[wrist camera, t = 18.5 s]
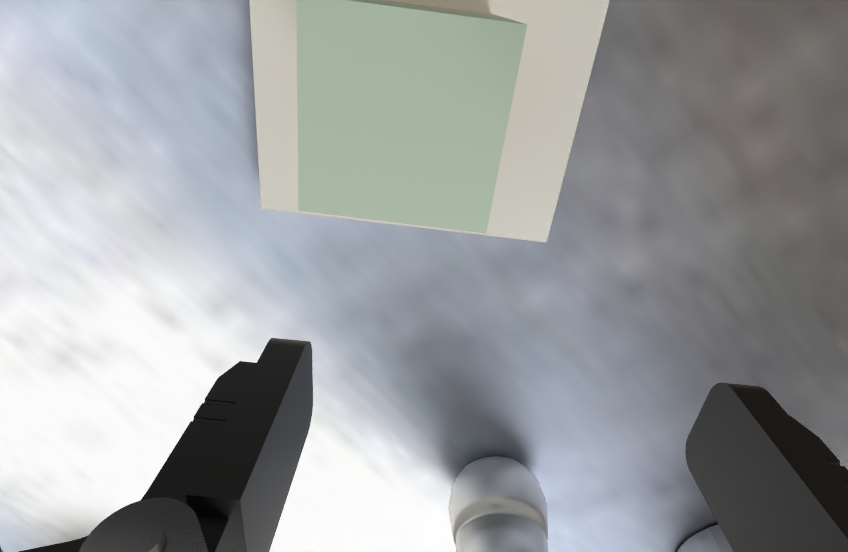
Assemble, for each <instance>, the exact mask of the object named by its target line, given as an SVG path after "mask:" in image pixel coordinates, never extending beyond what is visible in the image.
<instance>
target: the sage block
mask: <svg viewBox="0 0 848 552" xmlns="http://www.w3.org/2000/svg"><path fill="white" fill-rule="evenodd" d="M296 1H297V105H298V209H299V211H306V212H314V213H322V214H330V215H339V216H347V217H355V218H363V219H371V220H379V221H387V222H395V223H404V224H412V225H420V226H428V227H436V228H444V229H452V230H461V231H469V232H477V233H485V234H486V231H487V226H488V221H489V216H490V211H491V206H492V201H493V196H494V191H495V186H496V180H497V175H498V170H499V165H500V160H501V155H502V150H503V145H504V140H505V135H506V130H507V125H508V120H509V115H510V110H511V105H512V99H513V94H514V89H515V84H516V79H517V74H518V69H519V64H520V59H521V54H522V49H523V44H524V39H525V34H526V29H527V24H524V23H521V22H518V21H514V20H511V19H508V18H505V17H500V16H492V15H485V14H477V13H470V12H463V11H455V10H448V9H440V8H433V7H425V6H418V5H411V4H403V3H396V2H388V1H381V0H296Z"/></svg>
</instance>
